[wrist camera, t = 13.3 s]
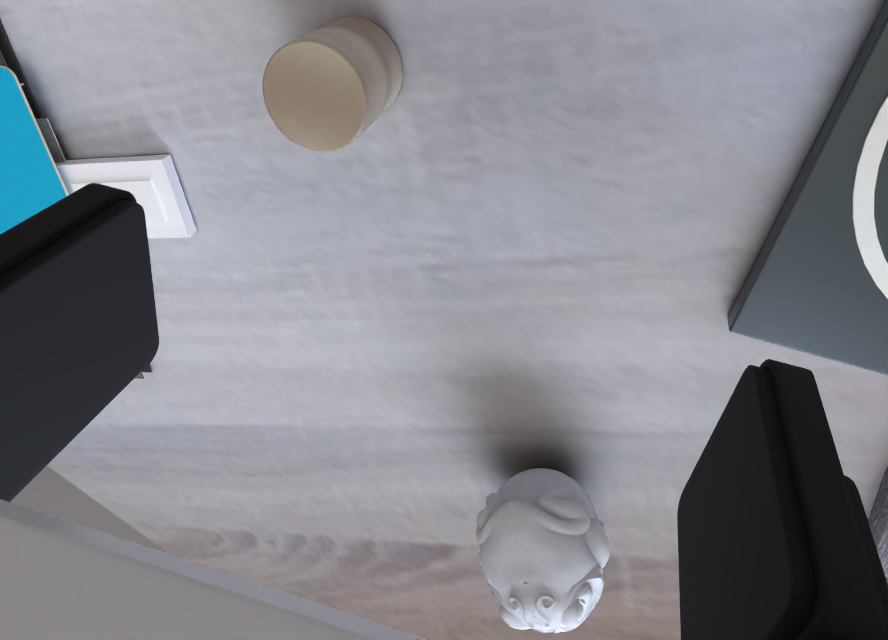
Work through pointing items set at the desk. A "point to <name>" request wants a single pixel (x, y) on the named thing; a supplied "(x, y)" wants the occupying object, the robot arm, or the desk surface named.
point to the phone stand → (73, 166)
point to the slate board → (832, 233)
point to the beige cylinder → (332, 83)
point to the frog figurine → (542, 551)
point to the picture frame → (881, 524)
